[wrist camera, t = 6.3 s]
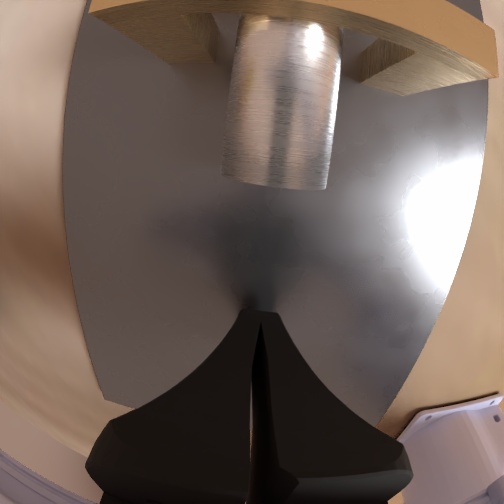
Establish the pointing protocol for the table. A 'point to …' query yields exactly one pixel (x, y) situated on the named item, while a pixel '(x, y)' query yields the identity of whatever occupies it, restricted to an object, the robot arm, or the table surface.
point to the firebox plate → (270, 192)
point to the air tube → (282, 102)
